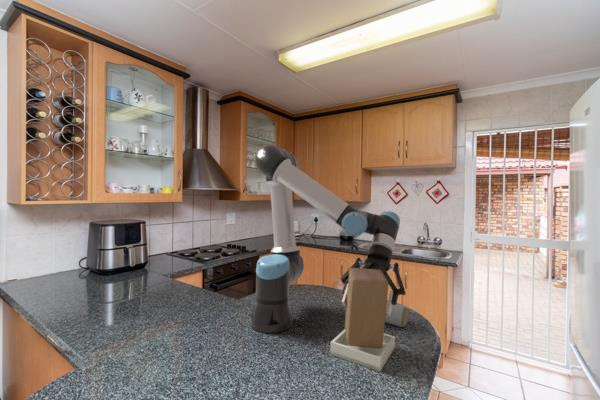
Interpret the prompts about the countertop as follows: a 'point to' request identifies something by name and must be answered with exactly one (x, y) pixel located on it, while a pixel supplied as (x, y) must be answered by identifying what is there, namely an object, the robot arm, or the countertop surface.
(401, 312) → the ceramic mug
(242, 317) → the countertop surface
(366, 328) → the wooden block
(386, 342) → the sage tray
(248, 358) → the countertop surface
